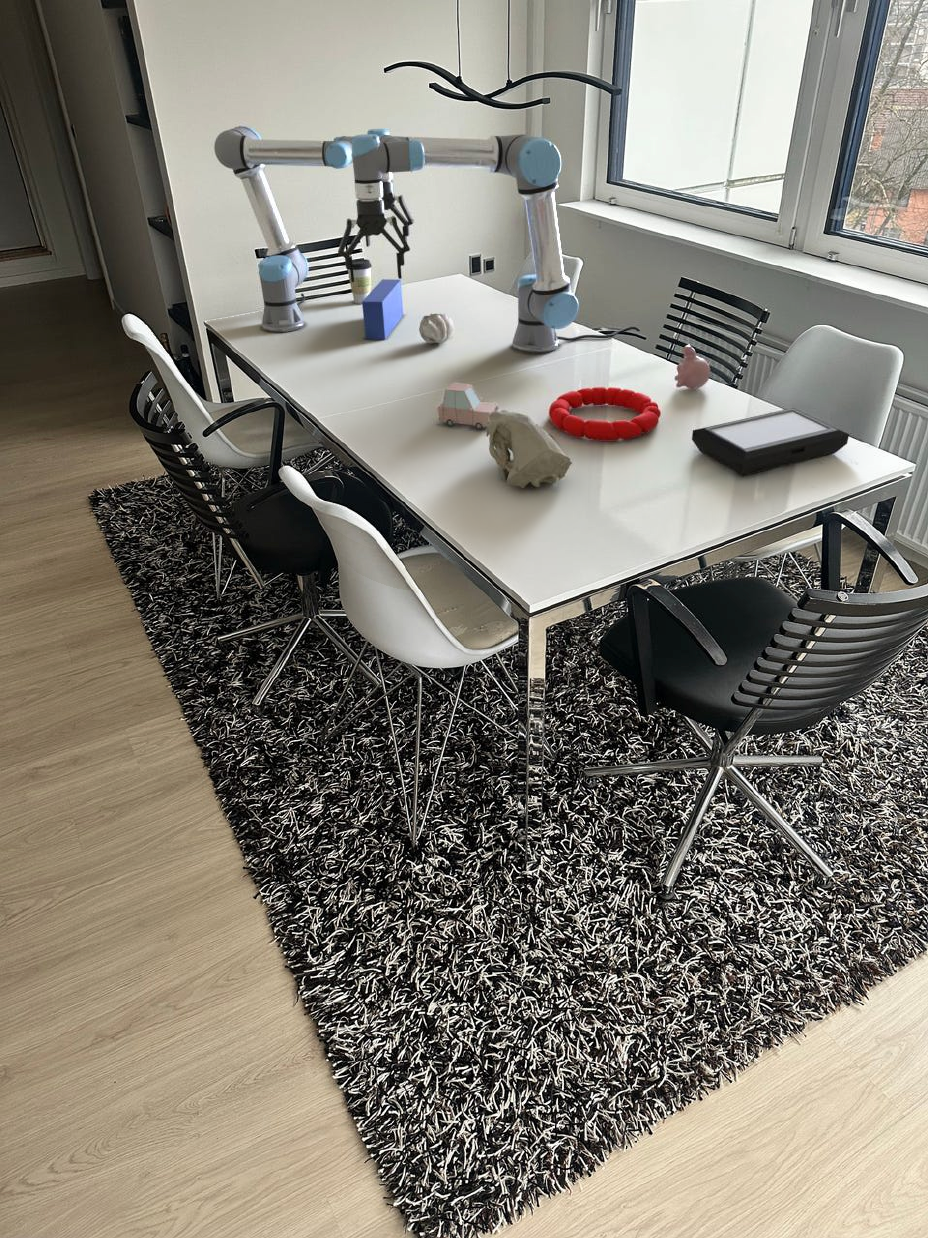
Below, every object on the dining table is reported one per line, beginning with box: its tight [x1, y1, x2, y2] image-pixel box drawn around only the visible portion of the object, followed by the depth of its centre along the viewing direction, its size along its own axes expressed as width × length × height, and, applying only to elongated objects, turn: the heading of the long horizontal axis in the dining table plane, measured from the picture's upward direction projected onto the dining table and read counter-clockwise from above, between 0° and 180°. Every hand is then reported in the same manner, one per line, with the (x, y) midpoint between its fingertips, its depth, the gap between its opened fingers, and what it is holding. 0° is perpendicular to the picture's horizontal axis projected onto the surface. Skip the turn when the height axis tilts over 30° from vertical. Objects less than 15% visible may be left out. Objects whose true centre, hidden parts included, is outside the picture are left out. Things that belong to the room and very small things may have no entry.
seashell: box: [418, 312, 454, 344], centre depth 302 cm, size 10×15×10 cm
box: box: [361, 278, 404, 341], centre depth 319 cm, size 30×7×13 cm, turn 171°
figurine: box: [674, 344, 711, 390], centre depth 259 cm, size 9×11×12 cm
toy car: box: [437, 382, 499, 431], centre depth 243 cm, size 9×15×10 cm, turn 70°
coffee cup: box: [347, 258, 373, 305], centre depth 347 cm, size 10×10×15 cm
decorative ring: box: [548, 386, 661, 442], centre depth 242 cm, size 7×30×30 cm
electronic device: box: [691, 407, 850, 477], centre depth 222 cm, size 32×6×20 cm
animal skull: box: [485, 409, 573, 489], centre depth 216 cm, size 17×25×20 cm
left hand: (386, 245), depth 318 cm, fingers open, 13 cm apart
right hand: (376, 279), depth 256 cm, fingers open, 13 cm apart
